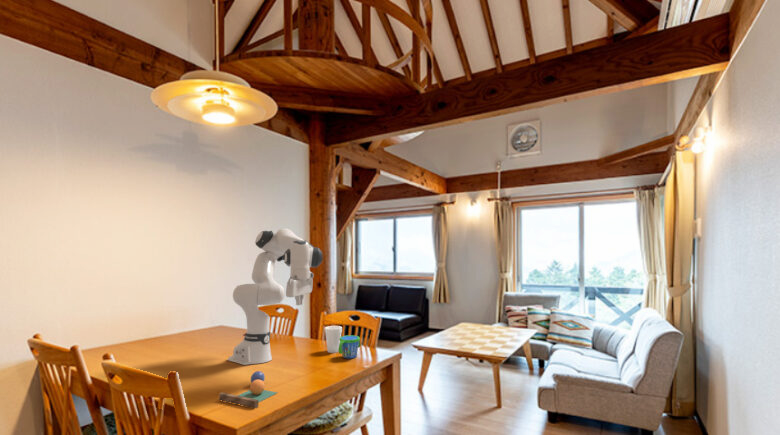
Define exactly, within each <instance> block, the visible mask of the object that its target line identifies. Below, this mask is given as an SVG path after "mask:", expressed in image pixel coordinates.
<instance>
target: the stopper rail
mask: <svg viewBox="0 0 780 435" xmlns="http://www.w3.org/2000/svg"><path fill="white" fill-rule="evenodd" d="M219 400H222V401H221V402H223V401H226V402H225V403H228V402H231V403H230V404H232V403H236V404H235V405H237V404H240V405H239V406H241V405H243V406H242V407H246V406H247V408H250V407H252V408H251V409H254V408H256V409H258V408H259V402H258V400H256V399H251V398H246V397H242V396H238V394H237V395H236V394H231V393H226V392H220V393H218V401H219ZM257 407H258V408H257Z"/></svg>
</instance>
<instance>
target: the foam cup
mask: <svg viewBox="0 0 780 435" xmlns="http://www.w3.org/2000/svg"><path fill="white" fill-rule="evenodd" d="M324 332H325V341H326V350H327V353H330V354H332V353H333V354H335V353H336V354H337V353H339V352H338V349H339V344H340V337H342V332H343V327H342V326H340V325H330V326H325V327H324Z"/></svg>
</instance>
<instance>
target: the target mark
mask: <svg viewBox="0 0 780 435" xmlns="http://www.w3.org/2000/svg"><path fill="white" fill-rule="evenodd" d="M276 394H278V392H277V391H270V390H265V389H264V391H263V392H262V393H261V394H259V395H254V394H252V393H251V391H250V389H248V390H247V391H245V392H242V393H240V394H237V396H242V397H246V398H251V399H256V400H258V403H260V402H263V401H265V400H266V399H268V398H271V397H272V396H275V395H276Z"/></svg>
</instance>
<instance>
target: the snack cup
mask: <svg viewBox="0 0 780 435" xmlns="http://www.w3.org/2000/svg"><path fill="white" fill-rule="evenodd" d="M360 347H361V338H360V336H359V335H353V334H352V335H350V334H349V335H348V334H347V335H343V336H342V335H341V337H340V344H339V349H338V352H337V353H338V354H341V356H342V358H344V359H355V358H356V357H357V356H358V350H359V348H360Z"/></svg>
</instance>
